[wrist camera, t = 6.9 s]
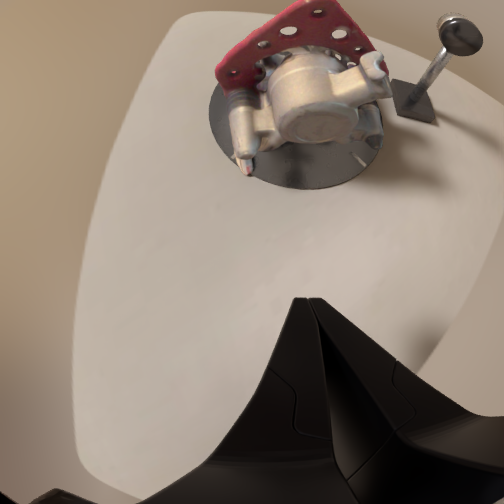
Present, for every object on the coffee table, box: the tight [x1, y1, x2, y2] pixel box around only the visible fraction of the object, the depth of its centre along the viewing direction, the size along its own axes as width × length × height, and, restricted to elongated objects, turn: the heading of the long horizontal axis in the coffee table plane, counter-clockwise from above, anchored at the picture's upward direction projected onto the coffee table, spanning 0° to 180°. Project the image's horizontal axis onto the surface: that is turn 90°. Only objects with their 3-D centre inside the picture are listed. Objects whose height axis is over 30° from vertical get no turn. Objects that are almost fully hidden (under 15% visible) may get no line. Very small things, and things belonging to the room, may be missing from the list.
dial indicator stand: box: [390, 13, 483, 123], centre depth 14 cm, size 4×4×12 cm
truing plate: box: [209, 51, 383, 189], centre depth 20 cm, size 14×14×1 cm
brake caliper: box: [215, 0, 393, 175], centre depth 15 cm, size 11×11×12 cm
